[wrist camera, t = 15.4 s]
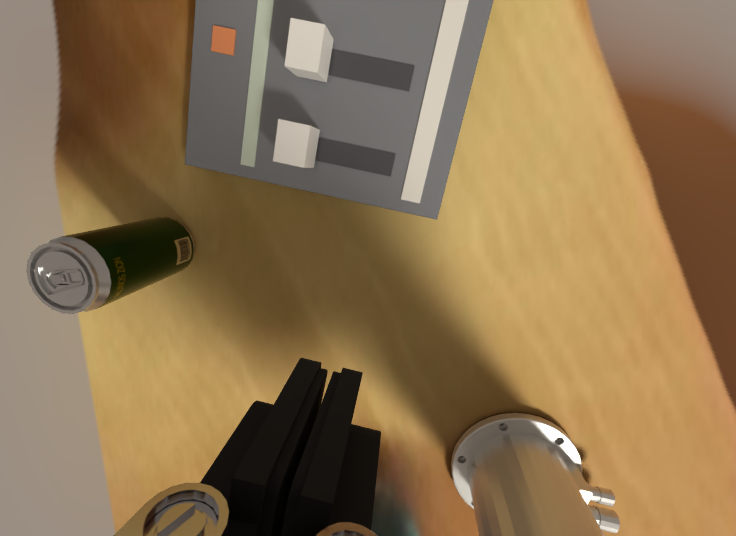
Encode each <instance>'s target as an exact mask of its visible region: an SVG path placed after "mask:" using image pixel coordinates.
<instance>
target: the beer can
mask: <svg viewBox="0 0 736 536" xmlns="http://www.w3.org/2000/svg"><path fill="white" fill-rule="evenodd" d="M194 251H195V244H194V239H193V237H192V234H191V233H190V232H189V230H188V229H187V228H186V227H185V226H184V225H182V224H181V223H179V222H177V221H175V220H172V219H170V218H161V217H159V218H154V219H149V220H144V221H139V222H134V223H128V224H123V225H118V226H113V227H108V228H103V229H98V230H93V231H88V232H83V233H77V234H72V235H67V236H62V237H59V238H56V239H53V240H51V241H49V243H47V244H44V245H41V246H39V247H37V248H36V249H35V250H34V251H33V252H32V253H31V255H30V257H29V259H28V264H27V276H28V280H29V284H30V286H31V287H32V289H33V291H34V293H35V294H36V295H37V297H38V298H39V299H40V300H41V301H42V302H43V303H44V304H46V305H47V306H48V307H50V308H51V309H53V310H56V311H59V312H61V313H69V314H74V313H78V312H82V311H86V312H87V311H90V310H94V309H97V308H99V307H102V306H104V305H106V304H108V303H111V302H113V301H115V300H117V299H119V298H122V297H124V296H126V295H128V294H131V293H133V292H135V291H137V290H139V289H142V288H144V287H146V286H148V285H151V284H153V283H155V282H157V281H159V280H162V279H164V278H166V277H168V276H171V275H173V274H175V273H177V272H179V271H182V270H183V269H184V268H186V267H187V266H188V265H189V263H190V262H191V260H192V258H193V256H194Z"/></svg>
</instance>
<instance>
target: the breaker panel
mask: <svg viewBox="0 0 736 536" xmlns="http://www.w3.org/2000/svg"><path fill="white" fill-rule="evenodd" d="M492 4H493V0H196V6H195V21H194V36H193V51H192V65H191V80H190V95H189V110H188V125H187V140H186V155H185V164H186V165H190V166H195V167H200V168H204V169H209V170H213V171H218V172H222V173H227V174H231V175H236V176H240V177H245V178H250V179H254V180H259V181H263V182H268V183H272V184H277V185H281V186H286V187H291V188H295V189H300V190H304V191H309V192H313V193H318V194H322V195H327V196H332V197H336V198H341V199H345V200H350V201H354V202H359V203H363V204H368V205H373V206H377V207H382V208H386V209H391V210H395V211H400V212H404V213H409V214H414V215H418V216H423V217H427V218H432V219H436V220H437V217H438V214H439V210H440V206H441V202H442V198H443V194H444V190H445V186H446V182H447V179H448V175H449V171H450V167H451V163H452V159H453V155H454V151H455V148H456V144H457V140H458V136H459V132H460V128H461V124H462V120H463V116H464V113H465V109H466V105H467V101H468V97H469V93H470V89H471V85H472V82H473V78H474V74H475V70H476V66H477V62H478V58H479V54H480V50H481V47H482V43H483V39H484V35H485V31H486V27H487V23H488V19H489V15H490V12H491V8H492ZM291 18H295V19H300V20H305V21H310V22H315V23H320V24H325V25H326V27H327V29H328V30H329V32H330V34H331V36H332V37H333V39H334V40H333V47H332V53H331V59H330V66H329V72H328V78H327V82H322V81H317V80H313V79H308V78H303V77H298V76H296V75H295V74H293V73H292V72H291V71H290V70H289V69H287V68H286V67H285V66H284V65H285V58H286V50H287V42H288V34H289V27H290V19H291Z"/></svg>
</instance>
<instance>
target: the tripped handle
mask: <svg viewBox="0 0 736 536" xmlns="http://www.w3.org/2000/svg"><path fill="white" fill-rule="evenodd" d="M333 40H334V39H333V37H332V36H331V34H330V32H329V30H328V29H327V27H326V25H325V24H320V23H315V22H310V21H305V20H300V19H295V18H291V19H290V27H289V34H288V42H287V50H286V58H285V65H284V66H285V67H286V68H287V69H289V70H290V71H291V72H292V73H293V74H295V75H296V76H298V77H303V78H308V79H313V80H317V81H322V82H327V78H328V72H329V66H330V59H331V53H332V47H333Z"/></svg>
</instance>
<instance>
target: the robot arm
mask: <svg viewBox="0 0 736 536" xmlns="http://www.w3.org/2000/svg"><path fill="white" fill-rule="evenodd" d="M326 377H327V370H326V369H322V368H321V362H317V361H313V360H309V359H304V358H300V360H299V361H298V363H297V365H296V367H295V368H294V370H293V372H292V374H291V375H290V377H289V379H288V381H287V382H286V384H285V386H284V388H283V389H282V391H281V393H280V395H279V396H278V398H277V400H276V402H275V403H274V405H273V404H269V403H265V402H260V401H255V402H254V403H253V404H252V405H251V407H250V408H249V410H248V411H247V413H246V414H245V416H244V417H243V419H242V420H241V422H240V424H239V425H238V427H237V428H236V430H235V431H234V433H233V434H232V436H231V437H230V439H229V440H228V442H227V443H226V445H225V446H224V448H223V449H222V451H221V452H220V454H219V455H218V457H217V458H216V460H215V461H214V463H213V464H212V466H211V467H210V469H209V470H208V472H207V473H206V475H205V476H204V478H203V479H202V481H201V482H200V483H184V484H180V485H176V486H172V487H170V488H168V489H166V490H164V491H162V492H160V493H158V494H157V495H155V496H154V497H153V498H152V499H150V500H149V501H148V502H147V503H145V504H144V506H143V507H142V508H141V509H140V510H139V511H138V512H137V513H136V514H135V515H134V516H133V517H132V518H131V519H130V520H129V521H128V522H127V523H126V524H125V525H124V526H123V527H122V528H121V529H120V530H119V531H118V532H117V533H116V534H115V535H114V536H377V535H376V534H375V533H374V532H373V531H371V524H372V514H373V505H374V495H375V486H376V476H377V467H378V457H379V447H380V438H381V431H377V430H373V429H369V428H365V427H361V426H357V425H353V424H351V422H352V418H353V413H354V409H355V404H356V400H357V395H358V391H359V387H360V382H361V378H362V372H358V371H354V370H350V369H346V368H343V369H342V372H341V373H338V372H333V374H332V377H331V379H330V382H329V385H328V388H327V390H326V393H325V396H324V398H323V401H322V397H323V392H324V387H325V382H326ZM321 402H322V404H321ZM451 469H452V477H453V481H454V485H455V487H456V489H457V491H458V493H459V495H460V496H461V497H462V499H463V500H464V501H465V502H466V503H467V504H468V505H469V506H470V507H471V508H473V509H474V512H475V517H476V522H477V527H478V532H479V536H604V534H603V532H602V531H606V532H610V533H617V532H618V530H619V526H620V523H619V518H618V516H617V514H616V512H615V511H613V510H609V509H605V508H601V507H597V506H590V505H588V502H589V500H591V501H595V502H596V503H599V504H603V505H607V506H613V505H614V503H615V496H614V493H613V492H612V491H611V490H608V489H604V488H600V487H593V486H589V484H588V483H587V482H586V481H585V480H584V478H583V476H582V462H581V458H580V455H579V453H578V451H577V449H576V447H575V445H574V444H573V442H572V441H571V439H570V438H569V436H568V435H567V434H566V433H565V432H564V431H563V430H562V429H561V428H560V427H558V426H557V425H555V424H554V423H552V422H551V421H548V420H546V419H544V418H541V417H539V416H534V415H530V414H524V413H506V414H499V415H495V416H492V417H489V418H486V419H484V420H482V421H479V422H478V423H476V424H475V425H473V426H472V427H470V428H469V429H468V430H467V431H466V432H465V433H464V434H463V435H462V436H461V438H460V439H459V441H458V442H457V443H456V445H455V448H454V451H453V453H452V459H451Z"/></svg>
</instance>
